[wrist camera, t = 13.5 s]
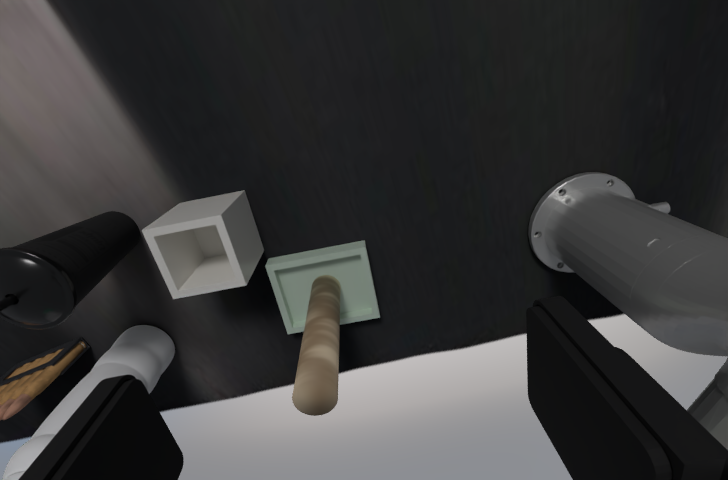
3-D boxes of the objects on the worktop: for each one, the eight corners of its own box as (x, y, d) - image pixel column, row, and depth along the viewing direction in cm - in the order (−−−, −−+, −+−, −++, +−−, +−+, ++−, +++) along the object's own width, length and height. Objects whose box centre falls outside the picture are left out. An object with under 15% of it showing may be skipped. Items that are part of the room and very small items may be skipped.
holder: (244, 190, 42) (221, 214, 34) (264, 250, 45) (246, 285, 37) (179, 203, 42) (141, 230, 34) (203, 261, 45) (173, 299, 37)
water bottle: (111, 330, 48) (-104, 554, 25) (160, 316, 48) (-13, 531, 25) (139, 370, 51) (-32, 605, 28) (186, 357, 50) (51, 586, 27)
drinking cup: (69, 229, 43) (-141, 339, 24) (108, 185, 41) (-88, 269, 23) (126, 272, 45) (-25, 401, 27) (165, 232, 43) (31, 342, 25)
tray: (364, 240, 45) (365, 246, 43) (378, 308, 49) (380, 317, 47) (268, 258, 45) (265, 266, 43) (290, 324, 49) (287, 334, 47)
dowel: (337, 272, 45) (332, 377, 29) (343, 297, 47) (342, 411, 30) (308, 278, 46) (287, 385, 29) (315, 302, 47) (298, 418, 30)
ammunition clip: (81, 336, 49) (3, 410, 37) (91, 346, 49) (17, 422, 38) (16, 363, 50) (-79, 443, 39) (26, 373, 50) (-64, 454, 39)
